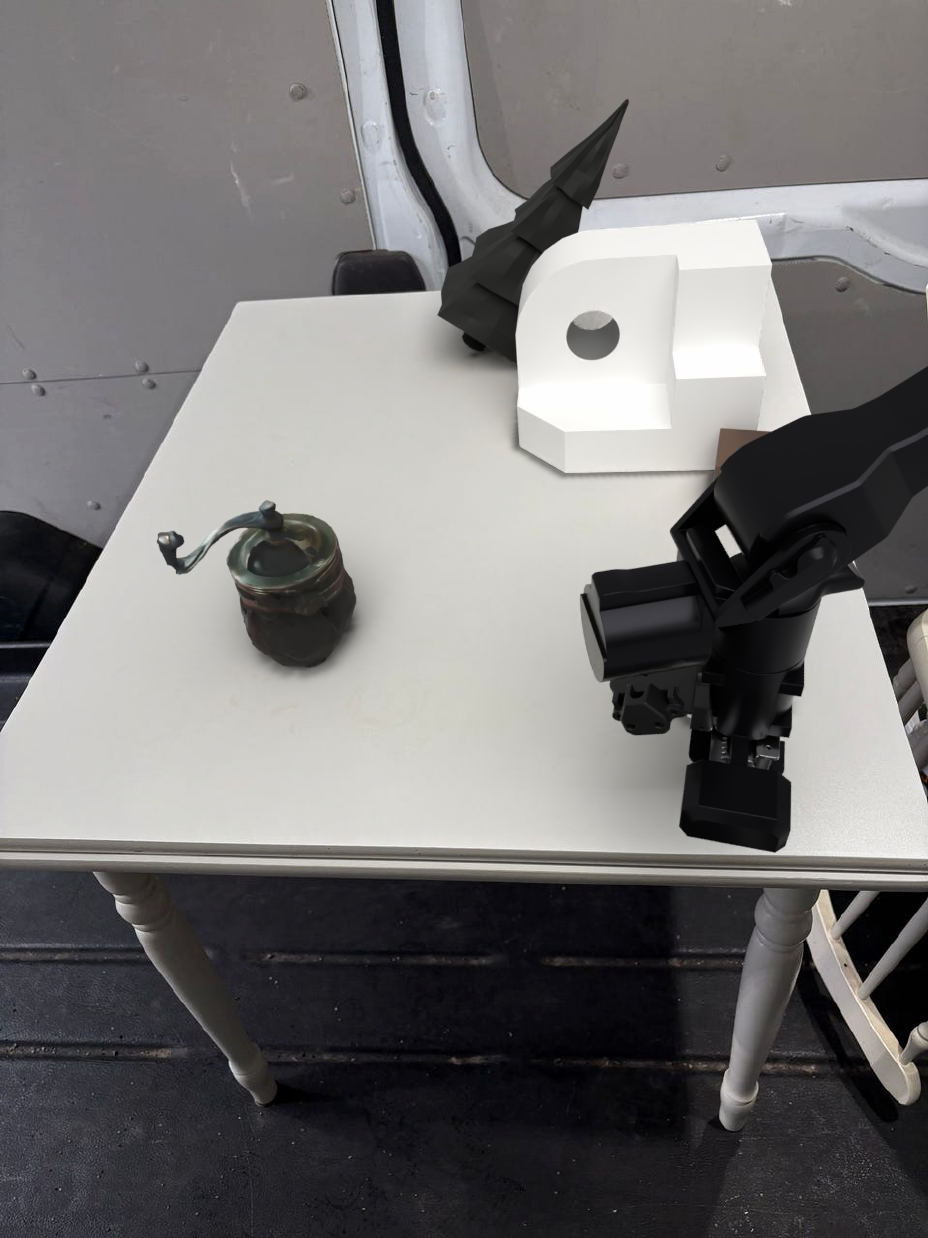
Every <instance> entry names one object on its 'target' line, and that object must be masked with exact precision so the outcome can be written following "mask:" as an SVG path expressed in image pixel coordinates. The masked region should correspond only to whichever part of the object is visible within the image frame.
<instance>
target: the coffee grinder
mask: <svg viewBox="0 0 928 1238" xmlns="http://www.w3.org/2000/svg"><path fill="white" fill-rule="evenodd" d="M276 508H277V504H276V503H275V502H273V501H270V500H268V499H266V500H264V501H263V502H262V503H261V504H260V505H259V507H258V510H255V511H247V512H243V513H240V514H238V515H236V516H233V517H232V518H229V519H228V520H227V521H225V522H223V524H222V525H220V526H219V527H218V528H216V529H214V530H213V531H212V532H210V533H209V535H207V536H206V537H205V538H204V540H203V541H202V543H200V544H199V546H198V547H197V548H195V549H194V550H193V551H192V552H191V553H189V554H188V555H186V556H183V557H177V550H178V548H180V547H182V546H183V545H184V544H185V538H184V536H183V535H181V534H179V533H178V532H176V531H175V530H169V531H161V532H158V533H157V540H156V544H157V545H158V548H159V552H160V553H161V554H162V558H163V559H164V561H165V564H166V565H167V566H169V567H170V566H171V567H172V568H173V569H174V570H175V575H178V576H179V575H185V574H189V573H190V572H191V571H193V569H194V568H195V567H196V566H198V563H200V562H201V561H202V560H203V559H204V558H205V556H206V555H207V554H208V551H210V549H211V548H212V547H213V546H214V545H215V544H216V543H217V542H219V540H220V539H222V538H223V537H225V536H227V535H228V534H229V533H231V532H233V531H236V530H238V529H245V530H243V531H241V533H240V535H239V536H238V537H237V538H236V540H235V542H234V544H233V545H231V547H230V548H229V549H228V555H226V559H225V561H226V566H227V568H228V570H229V573H230V576H231V578H232V579H233V581H234V584H235V588H236V591H237V593H238V595H239V605H240V613H241V615H242V617H243V623H244V626H245V629H246V634H247V636H248V638H249V639H250V641H251V643H252V645H253V647H254V648H256V650H258V651H259V652H261V653H263V654H264V655H265V656H267V657H270V658H271V659H272V660H273V661H275V662H276V663H278V664H280V665H282V666H286V667H305V668H312V667H315V666H317V665H319V664H321V663H322V664H323V663H324V662H325V661H326V659H327V657H329V656H330V655H331V654H332V652H333V651H334V650H335V648H336V646H337V644H338V643H339V641H340V640H341V639H342V636H343V634H344V633H345V632H346V630H347V628H348V627H349V624H350V621H351V619H352V617H353V614H354V611H355V608H356V605H357V600H358V599H357V595H356V591H355V585H354V580H353V578H352V577H351V575H349V573H348V572H347V570H346V567H345V564H344V558H343V553H342V550H341V546H340V543H339V539H338V536H337V534H336V533H335V532H336V531H334V529H333V527H332V526H331V525H330V524H329V523H328V522H326V521H325V520H323V519H321V518H319V517H316V516H314V515H312V514H308V513H296V512H295V513H294V512H292V513H290V512H289V513H285V512H284V513H281V512H280V511H277V509H276Z"/></svg>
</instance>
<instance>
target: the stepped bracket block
mask: <svg viewBox="0 0 928 1238" xmlns="http://www.w3.org/2000/svg"><path fill="white" fill-rule="evenodd" d="M772 269H773V263H772V261H771V257H770V254H769V251H768V249H767V246H766V243H765V240H764V238H763V235H762V232H761V229H760V226H759V222H758V221H757V219H740V220H724V221H709V222H691V223H677V224H676V223H675V224H660V225H646V226H629V227H613V228H612V227H611V228H599V229H589V230H581V231H578V233H576V234H573V235H570V236H568V237H565V238H562V239H561V240H560V241H558V242H557V243H555V244H554V245H552V246H551V247H550V248H548V249H547V250H545V251H544V252H543V254H542V255H541V256H540V257H539V258H538V260H537V261H536V262H535V263H534V264H533V265H532V267H531V269H530V271H529V273H528V275H527V277H526V279H525V281H524V283H523V287H522V293H521V298H520V303H519V311H518V320H517V328H516V350H517V364H516V366H517V381H518V383H517V384H518V394H517V401H516V402H517V403H516V411H517V427H518V428H517V429H518V444H519V445H518V446H519V447H520V448H521V449H523V450H525V451H526V452H528V453H530V454H531V455H533V456H535V457H537V458H539V459H540V460H542V461H544V462H545V463H547V464H549V465H551V466H552V467H554V468H555V469H557V470H559V471H561V472H562V473H564V474H591V473H593V474H594V473H637V472H638V473H639V472H642V473H643V472H682V471H683V472H685V471H686V472H690V471H714V470H715V462H716V455H717V448H718V441H719V434H720V428H726V429H741V430H756V431H758V427H759V421H760V415H761V409H762V404H763V398H764V391H765V386H766V380H767V374H766V370H765V366H764V362H763V360H762V356H761V352H760V342H761V337H762V330H763V325H764V318H765V312H766V306H767V300H768V293H769V287H770V281H771V276H772ZM587 312H602V313H604V314H607V315H608V316H610V317H611V320H610V321H609V322H608V323H606V325H603V326H601V327H600V328H596V329H586V328H582V327H579V326H578V325H576V324H575V323H574V322H573V321H574V320H575V319H576V318H577V317H579V316H580V315H582V314H584V313H587Z"/></svg>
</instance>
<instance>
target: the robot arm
mask: <svg viewBox="0 0 928 1238" xmlns="http://www.w3.org/2000/svg"><path fill="white" fill-rule="evenodd" d="M720 472H721V473H720V475H719V476H718V477H717V478H716V479H715V480H714V481H713V480H712V482H711V483H710V484H709V486H707V488H706V489H705V490H704V491H703V492H702V493H701V494H700V496H698V498H697V499H696V500H695V501H694V502H693V503H692V504H691V506H689V507H688V509H686V511H685V512H684V513H683V514H682V515H681V516H680V518H679V519H678V520H677V521H676V522H675V523H674V524H673V525H672V526H671V527H670V529H669V535H670V537H671V538H672V540H673V543H674V545H675V547H676V549H677V551H676V559H675V561H669V562H664V563H657V564H652V565H646V566H640V567H634V568H628V569H627V568H613V569H606V570H600V571H595V572H593V573H592V574H591V579H590V581H591V583H587V584H586V583H585V585H584V587H583V593H580V594H579V610H580V620H581V621H580V622H581V627H582V633H583V640H584V645H585V648H586V653H587V657H588V660H589V661H588V662H589V664H590V667H591V671H592V672H593V675H594V678H595V679H596V681H597V682H598V683H599V684H600V683H608V682H609V688H610V691H611V692H612V697H611V703H612V705H613V710H612V714H611V717H612V719H614V720H615V721H617V722H620V723H621V725H622V727H623V730H624V731H625V732H626V733H627V734H630V735H632V736H652V735H653V736H655V735H665V734H667V733H668V732H669V731H670V730H671V724H672V721H673V720H675V719H681V718H684V717H687V715H688V714H689V715H691V718H690V722H689V730H690V737H689V745H688V758H689V760H690V761H691V762H690V763H689V764H686V767H685V773H684V780H683V786H682V787H683V789H682V795H681V805H680V813H679V823H678V827H679V829H680V830H681V831H682V832H683V834H684V835H686V837H688V838H694V839H698V840H705V841H710V842H715V843H720V844H726V845H732V846H737V847H741V848H747V849H753V850H759V851H762V852H769V853H777V852H779V851H780V850H781V849H784V848H785V847H786V845H787V842H788V841H789V836H790V834H791V831H792V830H791V827H792V782H791V781H790V780H789V779H788V778H787V777H786V776H784V775H783V774H784V772H785V763H786V762H785V761H786V758H785V757H786V756H785V755H786V741H785V740H781V738H787V739H789V738H790V736H791V732H792V730H793V700H794V697H798V698H799V697H800V698H802V696H803V692H804V688H805V658H806V655H807V653H808V652H807V651H808V647H809V644H810V640H811V637H812V634H813V630H814V626H815V624H816V620H817V617H818V612H819V609H820V605H821V602H822V599H823V598H824V597H826V596H828V595H835V594H840V593H846V592H851V591H857V590H861V589H863V587H865V585H866V579H865V577H864V576H863V574H862V573H861V572H860V571H859V569H858V567H857V566H856V565H855V563H854V562H855V561H856V560H857V559H858V558H860V557H861V556H863V555H864V554H866V553H867V552H868V551H870V550H871V549H873V548H874V547H876V546H877V545H879V544H880V543H881V542H883V541H884V540H885V539H887V538H888V537H889V535H890V534H891V533H892V531H893V529H894V528H895V526H896V525H897V523H898V521H899V520H900V518H901V517H902V515H903V513H904V511H905V510H906V509H907V507H908V506H909V504H910V502H911V500H912V499H913V498H914V497H915V496H917V495H918V494H919V493H920V492H922V491H923V490H925V489H926V488H927V487H928V365H927V366H925V367H924V368H922V369H921V370H919V371H917V372H916V373H914V374H913V375H910V376H909V377H908V378H906V379H904V380H903V381H901V382H900V383H898V384H897V385H895V386H894V387H892V388H891V389H889V390H887V391H885V392H883V393H882V394H880V395H879V396H877V397H875V398H872V399H871V400H868V401H867V402H864V403H863V404H861V405H858V406H856V407H854V408H850V409H849V408H847V409H841V410H835V411H828V412H820V413H812V414H806V415H803V416H801V417H799V418H796V419H794V420H792V421H790V422H787V423H786V424H784V425H782V426H780V427H777V428H776V429H774V430H771V432H769V433H767V434H765V435H763V436H761V437H759V438H757V439H755V440H753V441H751V442H749V443H747V444H745V445H744V446H742V447H741V448H740V449H738V450H737V451H736V452H735V453H733V454H732V455H731V456H730V457H728V459H727V460H726V461H725V462H724V463H723V464H722V466H721V467H720ZM724 526H726V529H727V530H728V532H729V534H730V535H731V537H732V539H733V541H734V543H735V544H736V546H737V548H738V550H739V551H740V552H738V553H735V554H733V555H732V556H729V553H728V552H727V550H726V548H725V546H724V545H723V543H722V541H721V539H720V537H719V536H718V533H717V531H718V530H719V529H721V528H723V527H724ZM711 728H712V730H711Z"/></svg>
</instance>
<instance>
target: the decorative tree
mask: <svg viewBox="0 0 928 1238" xmlns="http://www.w3.org/2000/svg"><path fill="white" fill-rule="evenodd" d="M629 104H630V99H628V98H625V100H624V101H623V102H622V103H621V104H620V105H619V106H618V107H617V108H616V109H615V110H614V112H612V113H611V114H610V115H609V116H608V118H607V119H606V120H604V122H602V123H601V124H600V125H599V126H598V127H597V128H596V129H595V130H594V131H592V132H591V133H590V134H589V135H588V136H586V138H584V139H583V140H581V141H580V142H579V143H578V144H576V145H575V146H574V147H573V148H572V149H570V150H569V151H568V152H567V153H565V154H564V155H563V156H561V158H560V159H558V160H557V161H555V163H554V164H552V165H551V166H550V169H549V173H550V178H549V179H548V180H547V181H546V182H544V183H543V184H542V185H541V186H540V187H539V188H537V190H536V191H535V192H534V193H533V194H532V195H531V196H530V197H529V198H528V199H527V200H525V201H524V202H523V203H522V204H520V205H519V206H517V207H516V208H514V213H515V215H514V218H513V220H511V221H509V222H506V223H503V224H500V225H497V226H494V227H490V228H488V229H486V230H485V231H484V232H482V233H480V234H479V235H477V237H475V243H474V248H473V251H472V254H471V256H468V257H467V258H466V259H463V260H462V261H460V262H458V263H456V264H454V265H451V266H449V267H447V269H446V273H445V277H444V279H443V284H442V287H441V290H440V299H441V305H440V307H439V310H438V312H437V315H436V316H437V317H439V318H441V319H442V320H444V321H445V322H447V323H449V324H450V325H452V326H454V327H455V328H457V329H458V330H460V331H461V332H463V333H462V335H461V340H462V342H464V344H465V345H466V346H467V347H468V348H470V349H471V350H473V351H476V352H479V353H481V352H484V351H485V349H486V347H487V348H489V349H491V350H492V351H493V352H495V353H497V354H498V355H500V356H502V357H504V358H505V359H507V360H509V361H511V362H512V363H514V364H516V365H517V350H516V328H517V320H518V311H519V303H520V298H521V293H522V287H523V283H524V281H525V279H526V277H527V275H528V273H529V271H530V269H531V267H532V265H533V264H534V263H535V262H536V261H537V260H538V258H539V257H540V256H541V255H542V254H543V252H544V251H545V250H547V249H548V248H550V247H551V246H552V245H554V244H555V243H557V242H558V241H560V240H561V239H562V238H565V237H568V236H570V235H573V234H576V233H579V230H580V225H581V220H582V214H583V208H585V209H586V210H587V211H589V210H590V207H591V205H592V203H593V201H594V198H595V197H596V195H597V193H598V190H599V188H600V185H601V181H602V179H603V175H604V173H605V170H606V167H607V164H608V161H609V157H610V155H611V152H612V149H613V147H614V144H615V141H616V139H617V136H618V133H619V132H620V129H621V124H622V121H623V119H624V116H625V114H626V112H627V109H628V106H629Z"/></svg>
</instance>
